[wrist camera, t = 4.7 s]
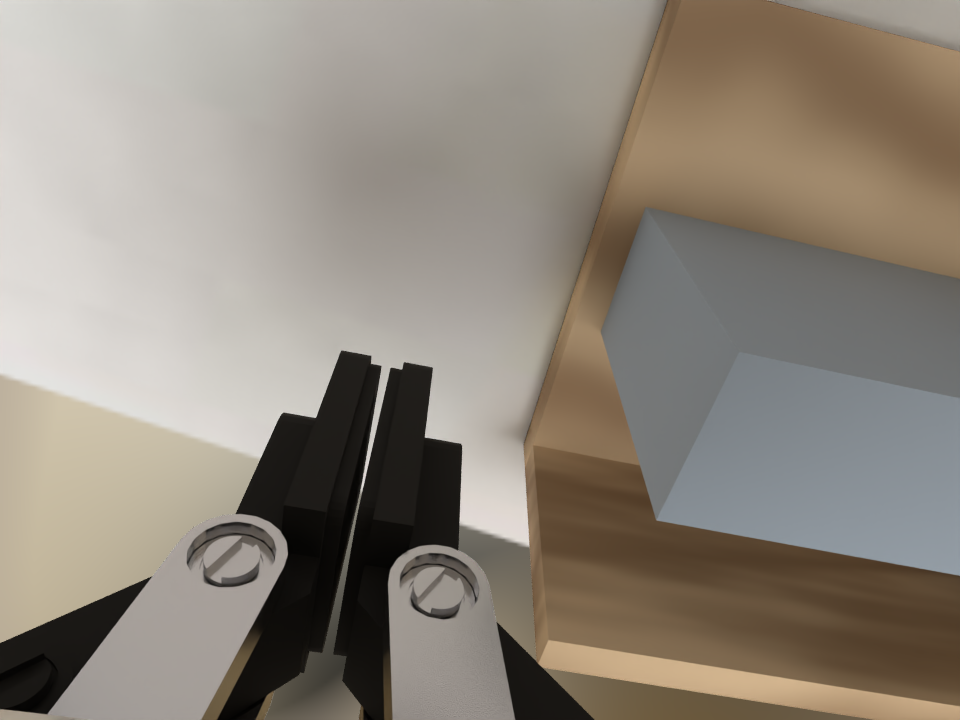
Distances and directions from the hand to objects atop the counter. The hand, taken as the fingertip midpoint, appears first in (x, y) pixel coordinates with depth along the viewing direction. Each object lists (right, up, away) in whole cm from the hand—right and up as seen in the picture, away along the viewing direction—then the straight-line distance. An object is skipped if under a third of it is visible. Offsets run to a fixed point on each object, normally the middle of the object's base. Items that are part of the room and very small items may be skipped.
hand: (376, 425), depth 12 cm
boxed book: (+12, +3, +10) cm, 16 cm away
